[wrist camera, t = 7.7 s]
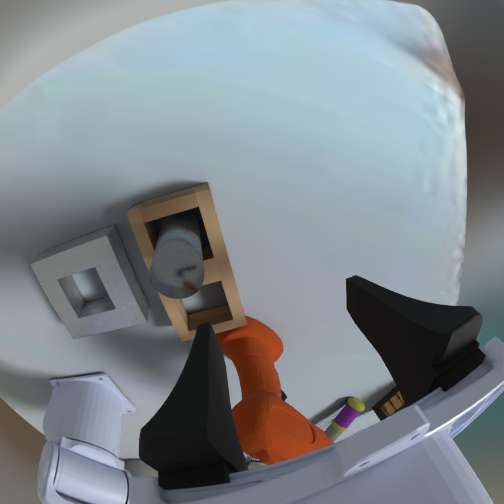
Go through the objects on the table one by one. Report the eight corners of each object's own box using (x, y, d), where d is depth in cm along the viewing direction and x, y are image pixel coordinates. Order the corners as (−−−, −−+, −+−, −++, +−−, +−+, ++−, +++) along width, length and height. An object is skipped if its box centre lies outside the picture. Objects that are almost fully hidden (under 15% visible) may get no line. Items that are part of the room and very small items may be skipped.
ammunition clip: (376, 408, 43) (403, 454, 32) (371, 407, 42) (399, 455, 32) (416, 370, 40) (451, 414, 30) (413, 369, 40) (448, 414, 29)
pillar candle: (154, 477, 41) (160, 535, 27) (114, 464, 36) (115, 527, 23) (181, 466, 40) (191, 532, 26) (137, 453, 35) (141, 526, 22)
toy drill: (311, 402, 33) (346, 493, 19) (205, 330, 27) (204, 463, 13) (340, 382, 32) (385, 472, 18) (240, 300, 26) (264, 435, 12)
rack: (242, 308, 26) (247, 324, 23) (181, 325, 25) (181, 342, 23) (207, 182, 20) (209, 188, 18) (133, 205, 20) (126, 214, 17)
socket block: (80, 323, 23) (73, 339, 21) (41, 252, 19) (30, 264, 17) (149, 305, 23) (147, 322, 21) (114, 224, 20) (106, 235, 18)
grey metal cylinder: (166, 250, 22) (159, 303, 15) (157, 215, 20) (142, 257, 14) (202, 241, 22) (209, 292, 15) (194, 206, 21) (197, 244, 14)
